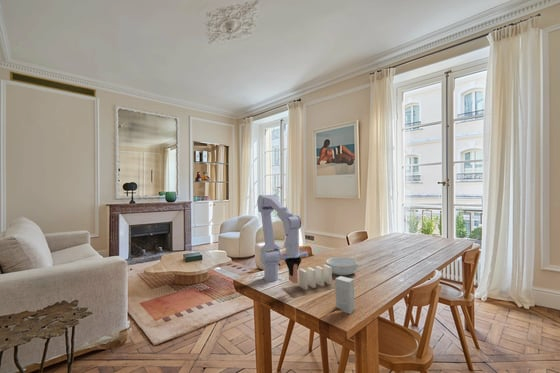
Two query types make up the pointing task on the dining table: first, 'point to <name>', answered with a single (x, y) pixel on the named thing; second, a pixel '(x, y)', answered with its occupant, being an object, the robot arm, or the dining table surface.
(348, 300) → the skincare box
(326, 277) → the domino
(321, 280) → the domino
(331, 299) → the dining table surface
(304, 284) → the domino
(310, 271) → the domino
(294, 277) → the terracotta domino
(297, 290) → the board
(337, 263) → the cereal bowl
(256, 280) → the dining table surface
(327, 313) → the dining table surface
